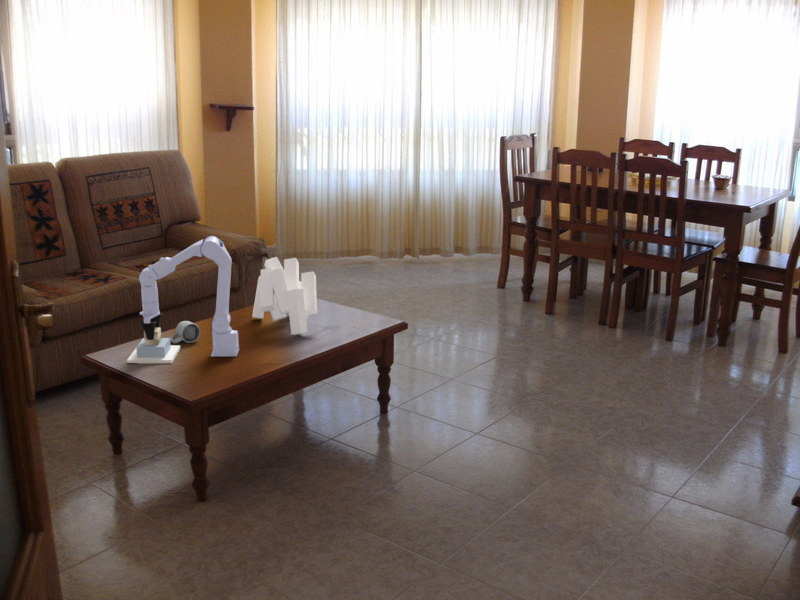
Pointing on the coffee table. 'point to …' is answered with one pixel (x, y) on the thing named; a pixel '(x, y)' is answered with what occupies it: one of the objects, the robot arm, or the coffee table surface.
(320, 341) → the coffee table surface
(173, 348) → the plinth base
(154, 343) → the birch cube
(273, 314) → the pile of blocks
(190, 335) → the ceramic mug
